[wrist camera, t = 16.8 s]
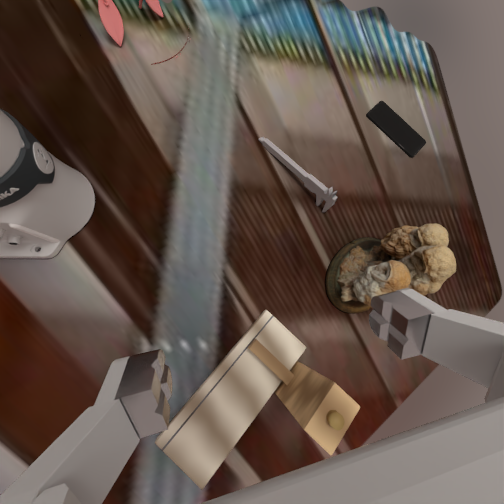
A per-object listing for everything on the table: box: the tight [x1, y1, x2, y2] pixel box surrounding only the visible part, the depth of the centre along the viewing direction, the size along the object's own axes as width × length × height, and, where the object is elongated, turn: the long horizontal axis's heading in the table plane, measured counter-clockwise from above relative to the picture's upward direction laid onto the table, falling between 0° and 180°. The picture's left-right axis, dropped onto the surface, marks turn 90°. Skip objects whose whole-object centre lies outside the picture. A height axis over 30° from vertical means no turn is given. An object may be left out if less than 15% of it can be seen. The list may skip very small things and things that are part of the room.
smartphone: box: [366, 101, 426, 158], centre depth 57 cm, size 7×1×15 cm
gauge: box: [247, 339, 360, 456], centre depth 32 cm, size 6×12×14 cm, turn 48°
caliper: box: [258, 137, 337, 212], centre depth 46 cm, size 20×1×6 cm, turn 41°
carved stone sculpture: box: [325, 224, 456, 313], centre depth 38 cm, size 18×12×17 cm, turn 138°
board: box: [155, 310, 307, 489], centre depth 37 cm, size 24×9×2 cm, turn 138°
